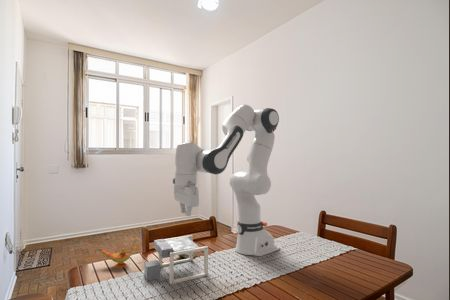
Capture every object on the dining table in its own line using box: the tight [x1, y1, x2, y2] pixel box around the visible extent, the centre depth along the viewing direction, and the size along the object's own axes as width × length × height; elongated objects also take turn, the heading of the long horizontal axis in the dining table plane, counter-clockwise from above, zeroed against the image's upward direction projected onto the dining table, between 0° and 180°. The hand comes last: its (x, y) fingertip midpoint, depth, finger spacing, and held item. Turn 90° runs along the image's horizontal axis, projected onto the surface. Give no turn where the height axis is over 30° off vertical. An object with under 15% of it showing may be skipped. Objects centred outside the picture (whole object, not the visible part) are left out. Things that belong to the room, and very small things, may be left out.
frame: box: [158, 234, 209, 285], centre depth 103 cm, size 15×18×11 cm
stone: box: [143, 259, 161, 281], centre depth 98 cm, size 5×5×5 cm
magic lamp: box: [96, 240, 139, 269], centre depth 108 cm, size 7×18×11 cm, turn 88°
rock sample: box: [177, 252, 197, 259], centre depth 118 cm, size 10×8×9 cm
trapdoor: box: [153, 237, 200, 259], centre depth 102 cm, size 14×14×3 cm
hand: (185, 214), depth 105 cm, fingers open, 5 cm apart
